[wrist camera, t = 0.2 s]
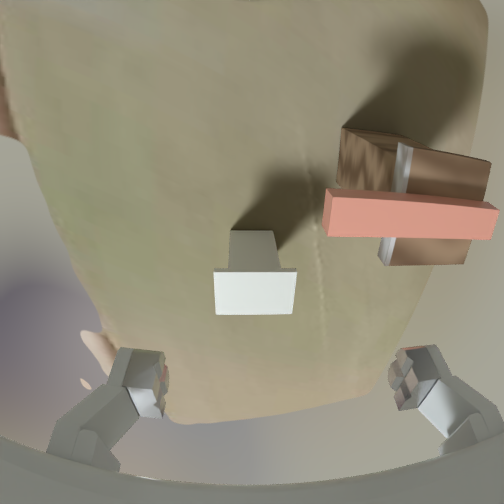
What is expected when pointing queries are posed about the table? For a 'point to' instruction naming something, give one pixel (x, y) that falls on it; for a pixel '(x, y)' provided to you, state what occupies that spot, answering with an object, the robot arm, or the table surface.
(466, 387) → the robot arm
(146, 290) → the table surface
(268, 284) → the stand
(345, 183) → the brown pedestal
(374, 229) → the salmon pink flat bar
